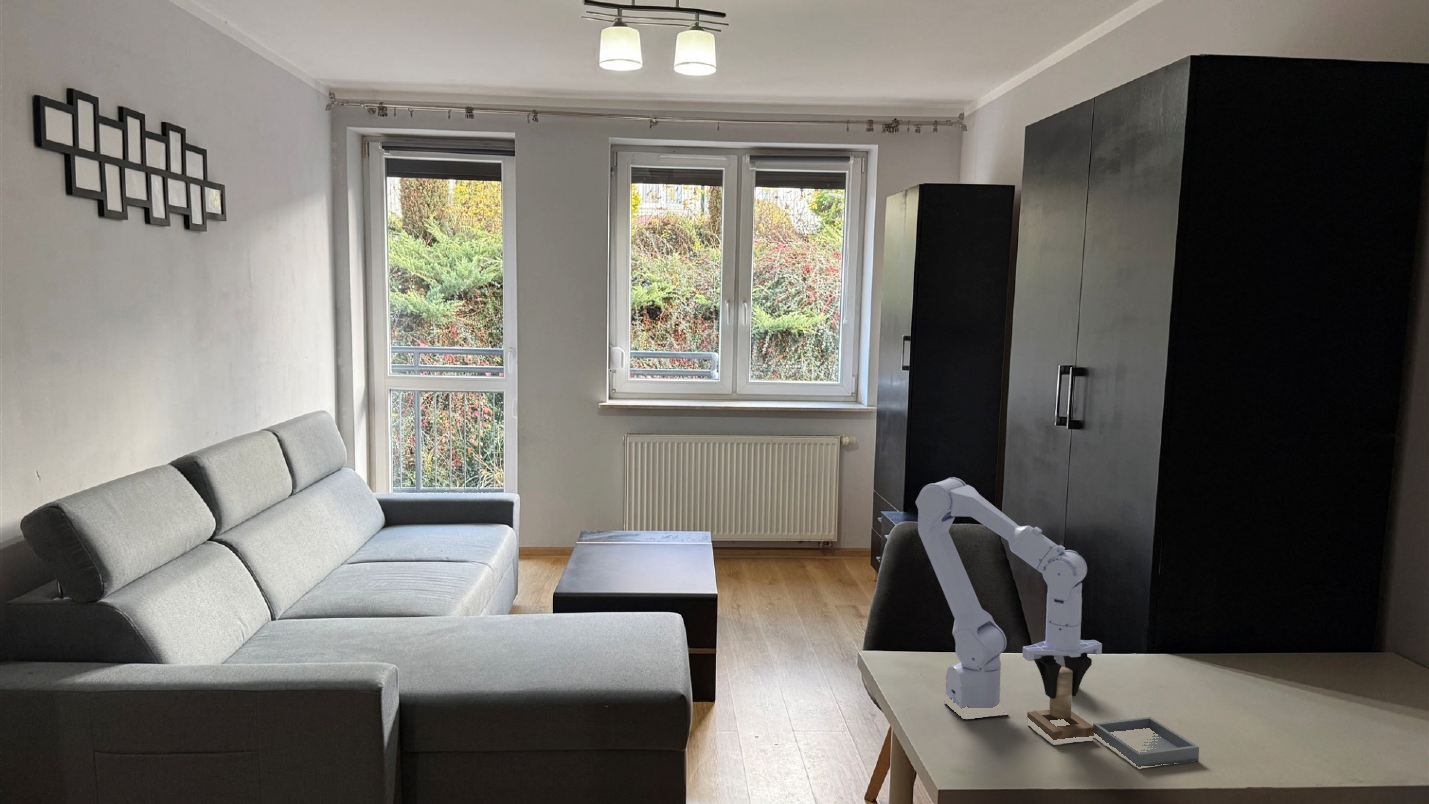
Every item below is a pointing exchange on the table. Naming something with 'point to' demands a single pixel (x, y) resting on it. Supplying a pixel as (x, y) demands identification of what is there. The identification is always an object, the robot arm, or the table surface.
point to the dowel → (1062, 695)
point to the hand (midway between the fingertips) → (1060, 695)
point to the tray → (1167, 747)
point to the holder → (1075, 728)
